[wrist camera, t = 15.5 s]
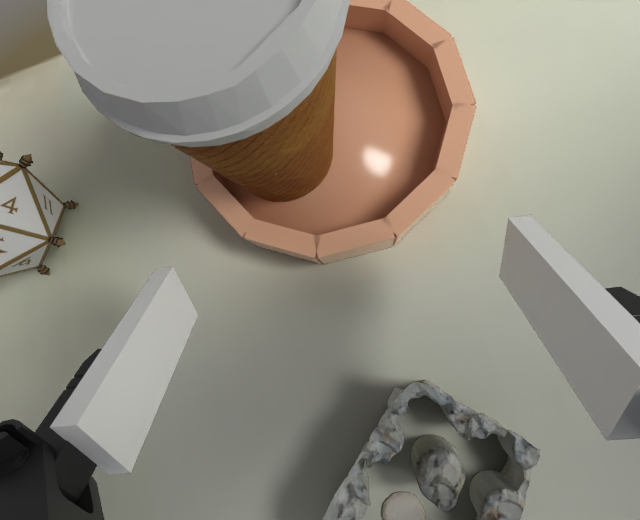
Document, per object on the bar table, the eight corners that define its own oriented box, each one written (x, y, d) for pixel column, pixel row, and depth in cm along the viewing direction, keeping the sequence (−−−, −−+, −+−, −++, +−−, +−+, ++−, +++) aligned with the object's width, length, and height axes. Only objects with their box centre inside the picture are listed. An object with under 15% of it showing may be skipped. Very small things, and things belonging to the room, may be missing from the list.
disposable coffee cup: (229, 247, 21) (52, 166, 9) (198, 112, 23) (17, -100, 11) (379, 201, 20) (394, 46, 8) (335, 64, 22) (297, -223, 10)
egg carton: (426, 617, 18) (443, 708, 14) (306, 521, 19) (290, 577, 15) (531, 439, 18) (576, 476, 14) (406, 358, 20) (415, 371, 16)
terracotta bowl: (518, 126, 20) (539, 101, 18) (321, 316, 20) (314, 316, 18) (330, -22, 24) (326, -60, 21) (160, 141, 24) (136, 121, 21)
